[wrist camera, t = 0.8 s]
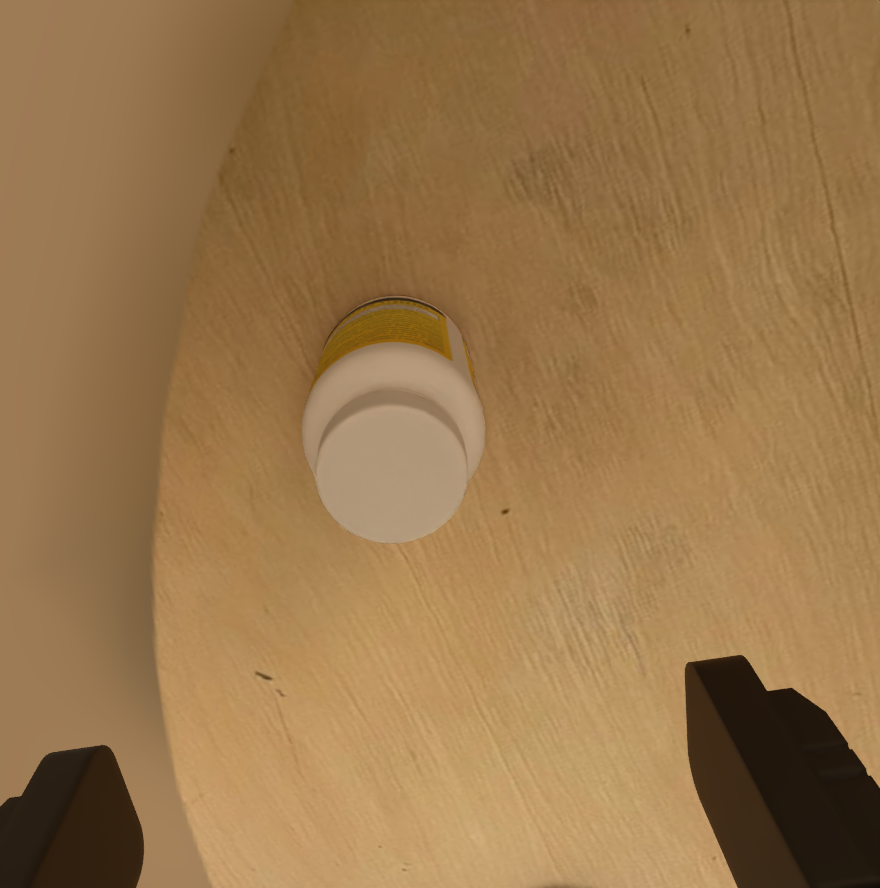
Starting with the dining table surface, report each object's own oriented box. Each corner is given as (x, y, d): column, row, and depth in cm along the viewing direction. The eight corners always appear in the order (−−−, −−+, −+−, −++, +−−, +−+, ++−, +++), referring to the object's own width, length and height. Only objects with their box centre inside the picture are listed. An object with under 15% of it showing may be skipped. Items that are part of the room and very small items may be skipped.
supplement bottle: (291, 354, 30) (242, 459, 21) (408, 262, 29) (411, 330, 20) (384, 461, 32) (376, 602, 22) (498, 378, 30) (539, 491, 21)
